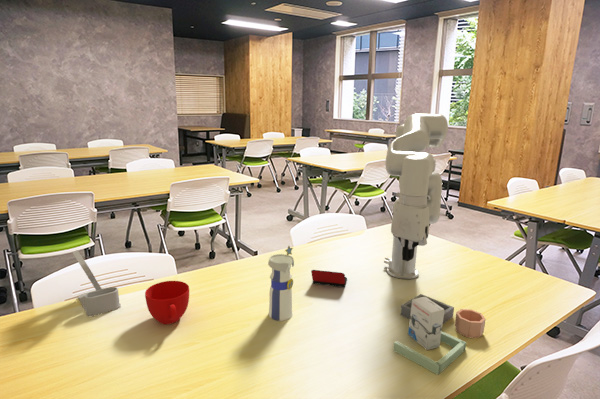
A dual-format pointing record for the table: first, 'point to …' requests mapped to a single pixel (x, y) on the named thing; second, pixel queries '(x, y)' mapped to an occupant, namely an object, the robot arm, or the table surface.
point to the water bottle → (281, 286)
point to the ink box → (426, 322)
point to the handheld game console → (329, 278)
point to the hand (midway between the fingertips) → (407, 259)
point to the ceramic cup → (167, 301)
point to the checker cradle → (448, 309)
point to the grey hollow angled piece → (97, 294)
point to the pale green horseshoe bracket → (429, 363)
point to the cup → (469, 323)
